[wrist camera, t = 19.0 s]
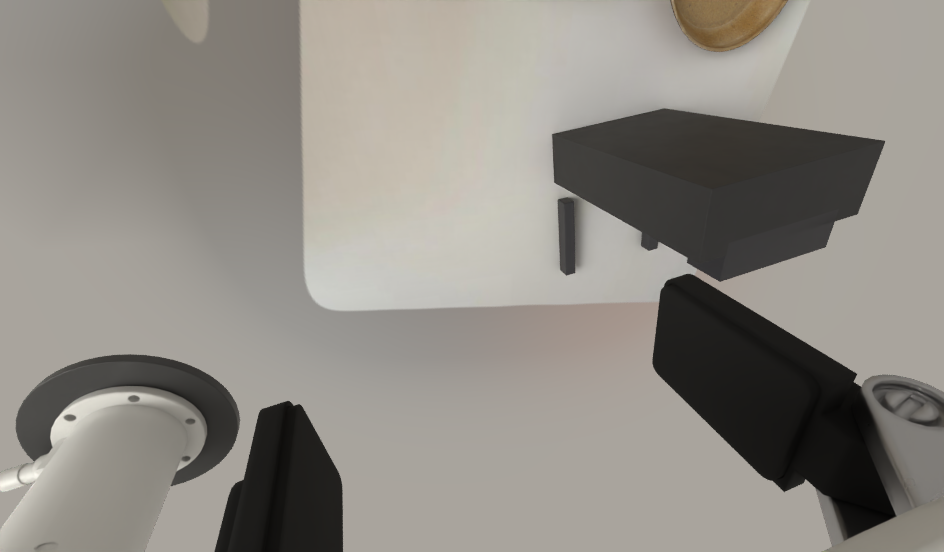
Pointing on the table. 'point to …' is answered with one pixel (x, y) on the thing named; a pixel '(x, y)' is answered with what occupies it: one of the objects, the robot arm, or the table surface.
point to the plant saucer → (724, 21)
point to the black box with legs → (714, 185)
